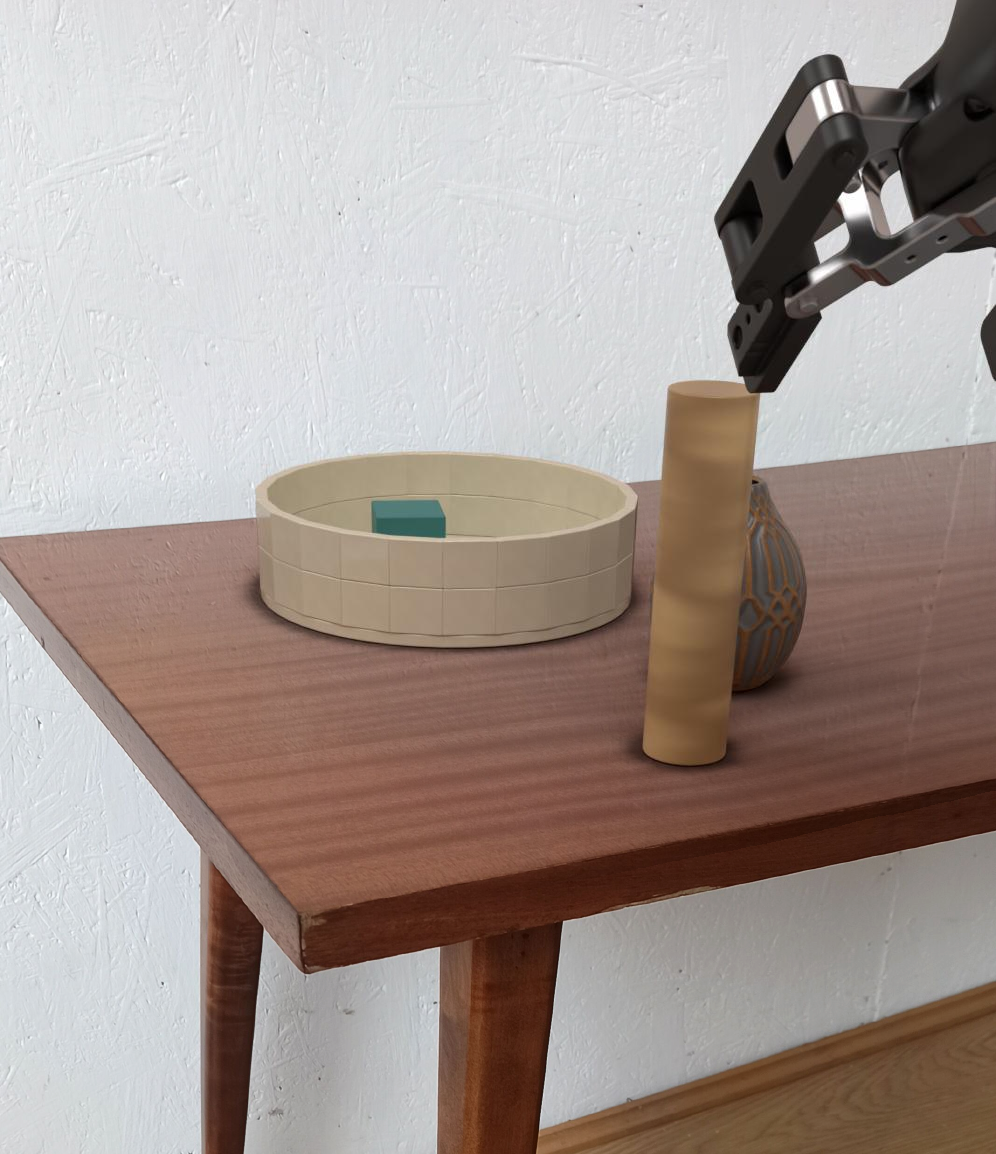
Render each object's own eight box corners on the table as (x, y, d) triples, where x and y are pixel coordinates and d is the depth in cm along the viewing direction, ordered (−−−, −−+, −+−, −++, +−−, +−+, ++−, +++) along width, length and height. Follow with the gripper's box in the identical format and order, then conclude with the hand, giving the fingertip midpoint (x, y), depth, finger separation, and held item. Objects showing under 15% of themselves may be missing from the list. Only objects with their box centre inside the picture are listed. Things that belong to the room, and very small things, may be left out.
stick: (726, 738, 72) (760, 381, 64) (725, 768, 69) (760, 398, 61) (644, 733, 72) (669, 377, 65) (640, 762, 69) (665, 393, 62)
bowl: (640, 552, 97) (646, 460, 94) (618, 659, 80) (625, 550, 78) (305, 534, 98) (302, 443, 96) (218, 634, 82) (211, 528, 79)
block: (438, 567, 91) (438, 499, 89) (445, 585, 88) (446, 515, 86) (372, 568, 90) (371, 499, 89) (377, 586, 87) (376, 516, 86)
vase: (826, 679, 78) (851, 481, 74) (733, 714, 74) (753, 506, 70) (708, 644, 82) (725, 454, 78) (613, 675, 78) (625, 476, 74)
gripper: (1412, -227, 40) (1039, 254, 56) (879, -272, 36) (633, 261, 51) (1518, 41, 39) (1104, 459, 54) (974, 26, 35) (692, 483, 50)
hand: (875, 362), depth 53 cm, fingers open, 8 cm apart
